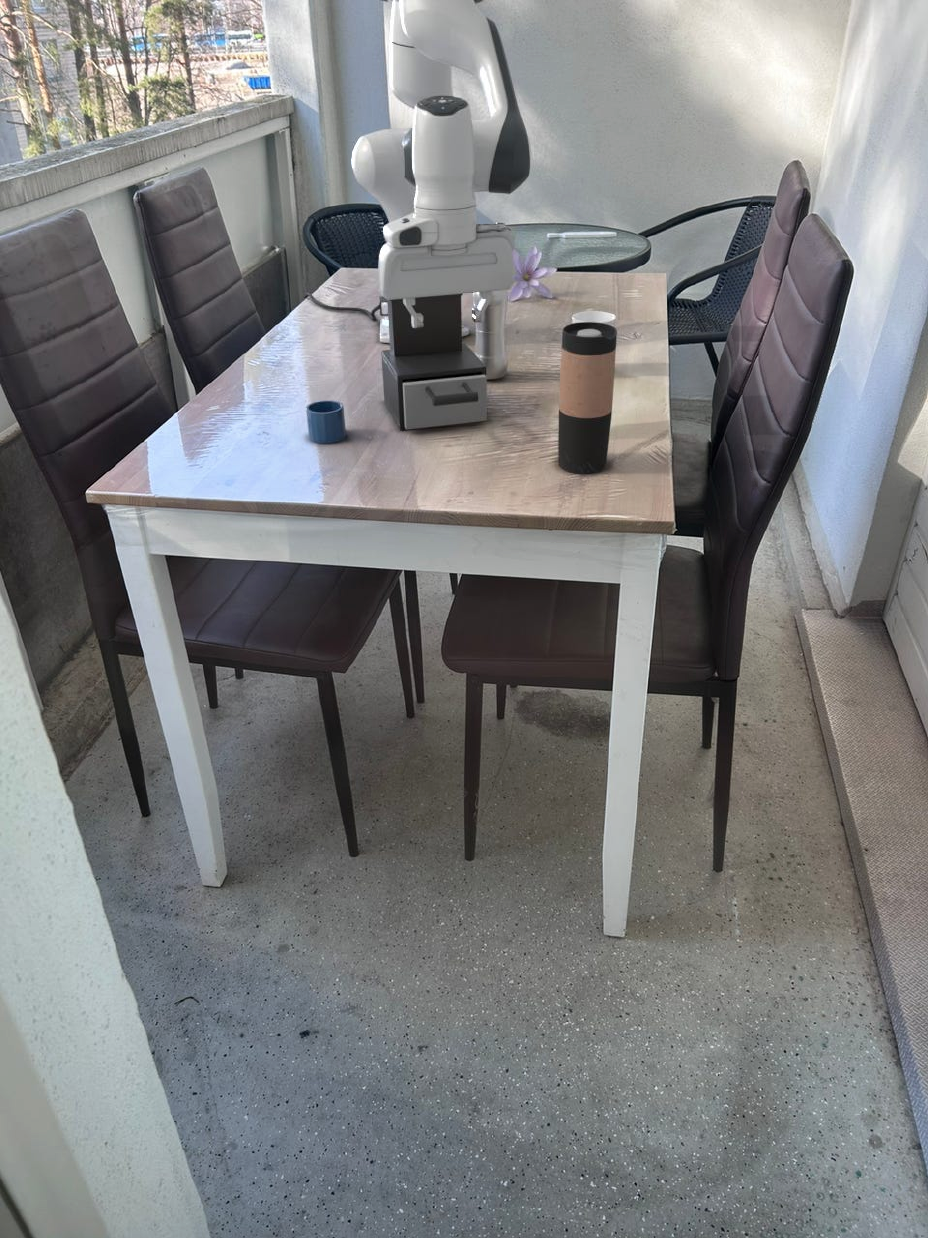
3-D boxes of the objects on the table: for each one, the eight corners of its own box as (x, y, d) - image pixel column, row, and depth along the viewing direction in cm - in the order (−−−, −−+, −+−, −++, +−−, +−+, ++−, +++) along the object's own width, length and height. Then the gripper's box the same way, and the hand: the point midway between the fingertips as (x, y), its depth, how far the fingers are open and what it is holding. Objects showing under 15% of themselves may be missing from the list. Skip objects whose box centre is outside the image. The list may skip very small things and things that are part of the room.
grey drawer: (498, 435, 149) (498, 390, 145) (415, 444, 147) (413, 399, 143) (466, 395, 165) (466, 353, 161) (391, 403, 162) (388, 361, 158)
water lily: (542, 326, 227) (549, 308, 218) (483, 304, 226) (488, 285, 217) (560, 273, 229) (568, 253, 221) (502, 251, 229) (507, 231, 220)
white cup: (610, 378, 174) (614, 323, 168) (567, 376, 175) (570, 321, 170) (613, 365, 180) (617, 311, 175) (572, 363, 182) (574, 309, 176)
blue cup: (307, 432, 154) (304, 402, 151) (342, 428, 155) (340, 398, 152) (311, 445, 149) (308, 415, 147) (348, 441, 150) (345, 411, 148)
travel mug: (552, 455, 145) (557, 322, 134) (602, 452, 145) (611, 320, 134) (561, 476, 138) (567, 338, 127) (612, 473, 139) (623, 336, 128)
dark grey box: (486, 420, 157) (486, 366, 152) (400, 430, 154) (397, 375, 149) (465, 393, 168) (464, 342, 163) (384, 402, 165) (381, 350, 160)
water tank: (388, 349, 160) (385, 290, 155) (457, 343, 163) (456, 284, 158) (393, 357, 157) (390, 296, 152) (463, 350, 160) (462, 290, 154)
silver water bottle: (512, 373, 177) (513, 261, 166) (501, 384, 172) (502, 269, 161) (479, 370, 179) (478, 259, 168) (467, 381, 174) (466, 267, 163)
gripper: (508, 217, 141) (507, 312, 148) (372, 227, 136) (378, 324, 144) (521, 225, 135) (520, 323, 143) (380, 235, 131) (386, 335, 139)
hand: (448, 324), depth 143 cm, fingers open, 8 cm apart
